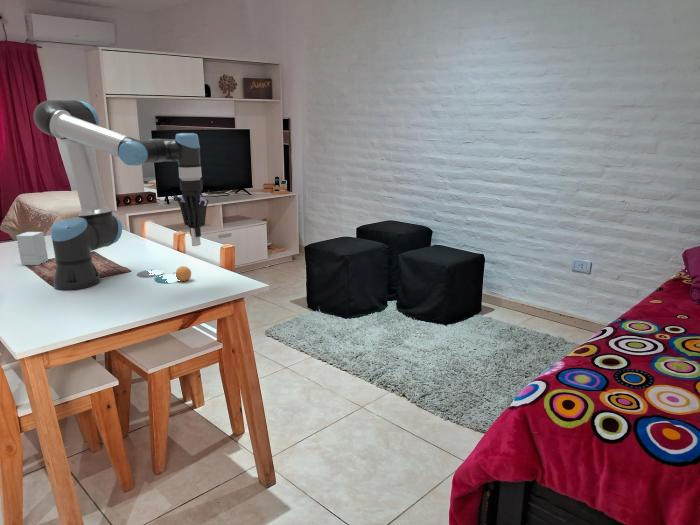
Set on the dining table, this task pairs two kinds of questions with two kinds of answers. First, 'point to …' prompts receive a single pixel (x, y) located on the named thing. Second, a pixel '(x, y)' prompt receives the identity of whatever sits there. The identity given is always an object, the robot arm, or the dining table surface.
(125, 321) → the dining table surface
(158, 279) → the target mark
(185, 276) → the ball
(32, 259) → the supplement box
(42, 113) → the robot arm
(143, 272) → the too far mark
